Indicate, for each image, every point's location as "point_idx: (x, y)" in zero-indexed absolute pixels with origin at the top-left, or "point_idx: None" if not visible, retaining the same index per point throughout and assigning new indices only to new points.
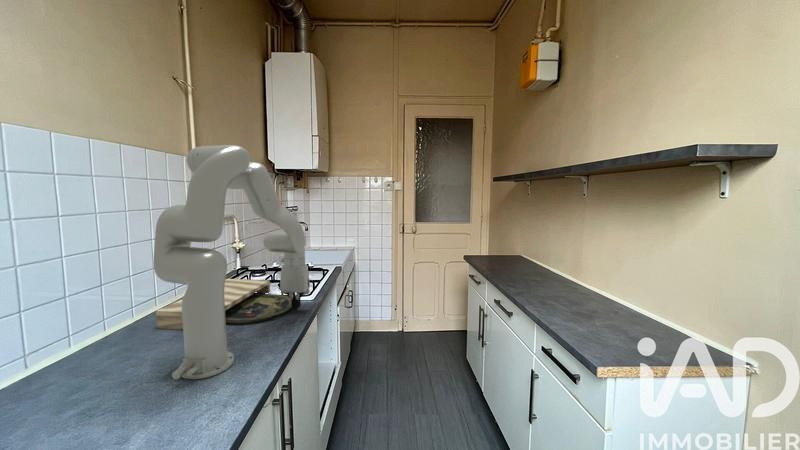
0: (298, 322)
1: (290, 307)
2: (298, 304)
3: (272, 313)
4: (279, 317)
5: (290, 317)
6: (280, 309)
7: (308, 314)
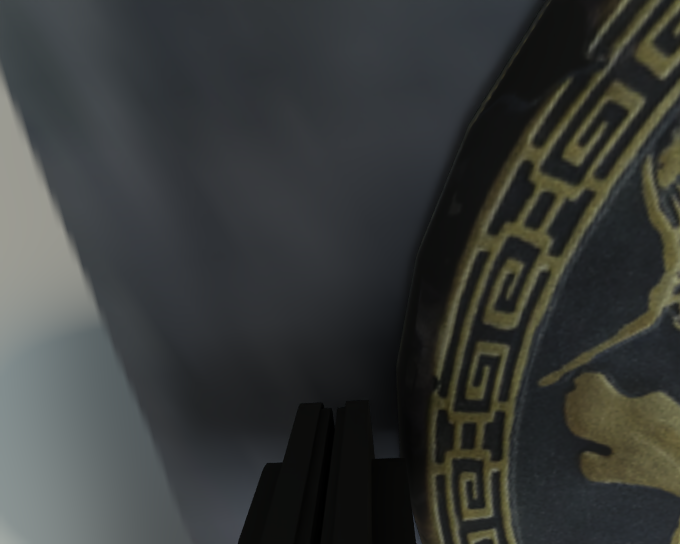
0: (61, 17)
1: (443, 467)
2: (266, 492)
3: (661, 162)
4: (470, 122)
5: (301, 190)
6: (580, 372)
7: (112, 342)
